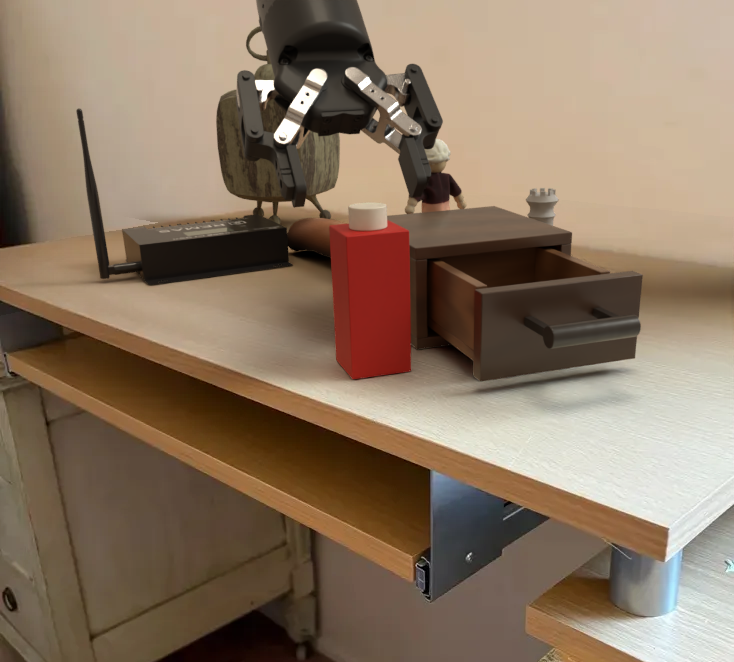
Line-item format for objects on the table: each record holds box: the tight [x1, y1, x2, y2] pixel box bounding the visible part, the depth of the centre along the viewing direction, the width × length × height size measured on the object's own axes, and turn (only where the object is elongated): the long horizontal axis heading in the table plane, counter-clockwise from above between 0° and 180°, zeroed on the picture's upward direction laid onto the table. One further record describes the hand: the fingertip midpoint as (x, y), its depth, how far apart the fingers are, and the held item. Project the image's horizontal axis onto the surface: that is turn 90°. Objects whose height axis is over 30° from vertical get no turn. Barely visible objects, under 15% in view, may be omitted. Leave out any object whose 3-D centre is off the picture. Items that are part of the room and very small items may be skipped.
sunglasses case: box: [287, 217, 348, 258], centre depth 91 cm, size 18×7×7 cm
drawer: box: [427, 246, 644, 382], centre depth 58 cm, size 17×12×6 cm
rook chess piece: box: [525, 187, 560, 226], centre depth 84 cm, size 4×4×8 cm
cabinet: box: [387, 205, 573, 350], centre depth 69 cm, size 14×13×8 cm
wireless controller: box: [76, 108, 294, 286], centre depth 89 cm, size 20×14×17 cm
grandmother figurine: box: [404, 138, 468, 214], centre depth 89 cm, size 8×4×13 cm, turn 132°
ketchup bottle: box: [329, 201, 412, 380], centre depth 58 cm, size 4×4×12 cm
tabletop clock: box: [215, 25, 341, 225], centre depth 109 cm, size 14×9×25 cm, turn 66°
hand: (361, 195), depth 57 cm, fingers open, 8 cm apart
